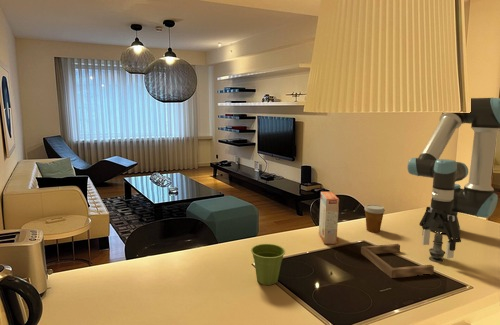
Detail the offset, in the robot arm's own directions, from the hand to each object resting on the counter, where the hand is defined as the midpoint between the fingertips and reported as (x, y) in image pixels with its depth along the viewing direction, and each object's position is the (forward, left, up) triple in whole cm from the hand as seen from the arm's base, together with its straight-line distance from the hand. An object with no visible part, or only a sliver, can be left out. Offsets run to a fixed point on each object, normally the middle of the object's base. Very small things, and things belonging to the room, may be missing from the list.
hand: (436, 250), depth 144 cm
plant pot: (+71, +5, -4) cm, 71 cm away
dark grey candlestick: (0, 0, -4) cm, 4 cm away
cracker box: (+34, -29, -4) cm, 45 cm away
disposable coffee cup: (+7, -36, -4) cm, 37 cm away
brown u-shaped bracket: (+18, 0, -4) cm, 18 cm away
